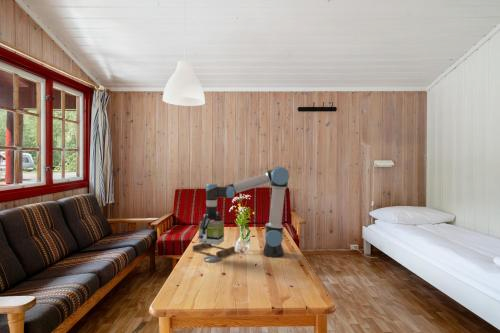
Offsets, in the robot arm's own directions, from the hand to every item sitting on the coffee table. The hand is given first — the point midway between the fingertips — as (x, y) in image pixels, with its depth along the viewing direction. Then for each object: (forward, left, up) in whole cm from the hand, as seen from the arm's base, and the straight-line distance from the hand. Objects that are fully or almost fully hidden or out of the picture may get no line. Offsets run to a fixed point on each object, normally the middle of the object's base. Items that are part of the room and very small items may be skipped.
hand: (211, 236), depth 217 cm
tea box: (0, 0, -4) cm, 4 cm away
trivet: (0, 0, -16) cm, 16 cm away
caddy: (-14, -13, -16) cm, 25 cm away
